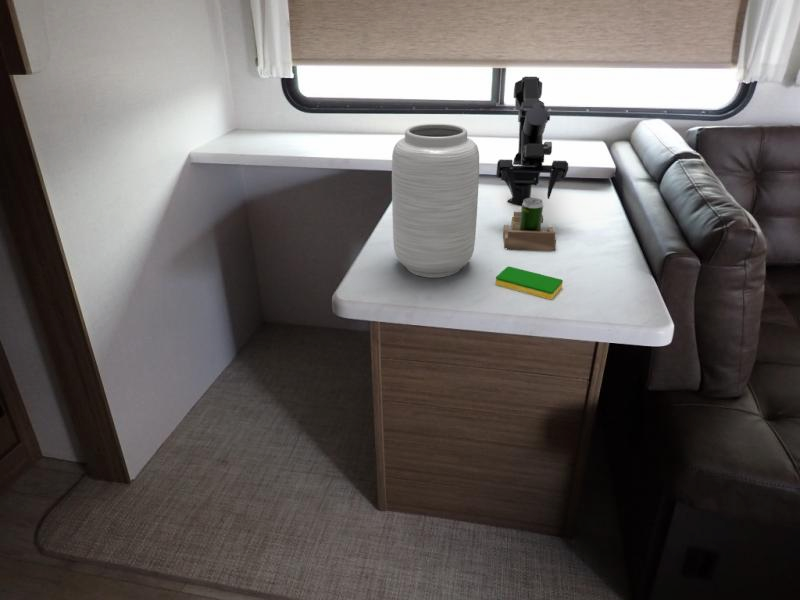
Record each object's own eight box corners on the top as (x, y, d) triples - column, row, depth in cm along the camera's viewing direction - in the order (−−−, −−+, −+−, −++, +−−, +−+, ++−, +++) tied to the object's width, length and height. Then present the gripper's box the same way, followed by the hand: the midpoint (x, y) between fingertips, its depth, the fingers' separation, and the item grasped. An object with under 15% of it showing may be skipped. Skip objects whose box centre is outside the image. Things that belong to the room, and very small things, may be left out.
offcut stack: (511, 226, 167) (512, 211, 165) (539, 226, 166) (541, 212, 164) (512, 232, 162) (513, 217, 160) (541, 233, 161) (543, 218, 159)
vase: (382, 256, 150) (378, 124, 134) (452, 244, 156) (457, 117, 140) (411, 290, 133) (410, 145, 117) (488, 275, 140) (498, 135, 123)
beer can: (530, 249, 153) (535, 206, 147) (514, 243, 156) (518, 201, 150) (542, 243, 156) (547, 200, 150) (526, 237, 159) (530, 196, 153)
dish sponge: (507, 274, 141) (508, 265, 140) (562, 288, 134) (563, 279, 133) (494, 286, 136) (495, 277, 134) (551, 301, 129) (552, 292, 128)
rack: (503, 235, 161) (504, 218, 158) (551, 236, 160) (553, 220, 157) (504, 249, 153) (506, 231, 150) (555, 251, 151) (557, 233, 149)
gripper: (500, 129, 152) (498, 182, 148) (572, 130, 150) (572, 184, 146) (496, 151, 163) (495, 201, 159) (564, 152, 161) (564, 203, 157)
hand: (531, 197), depth 155 cm, fingers open, 9 cm apart
